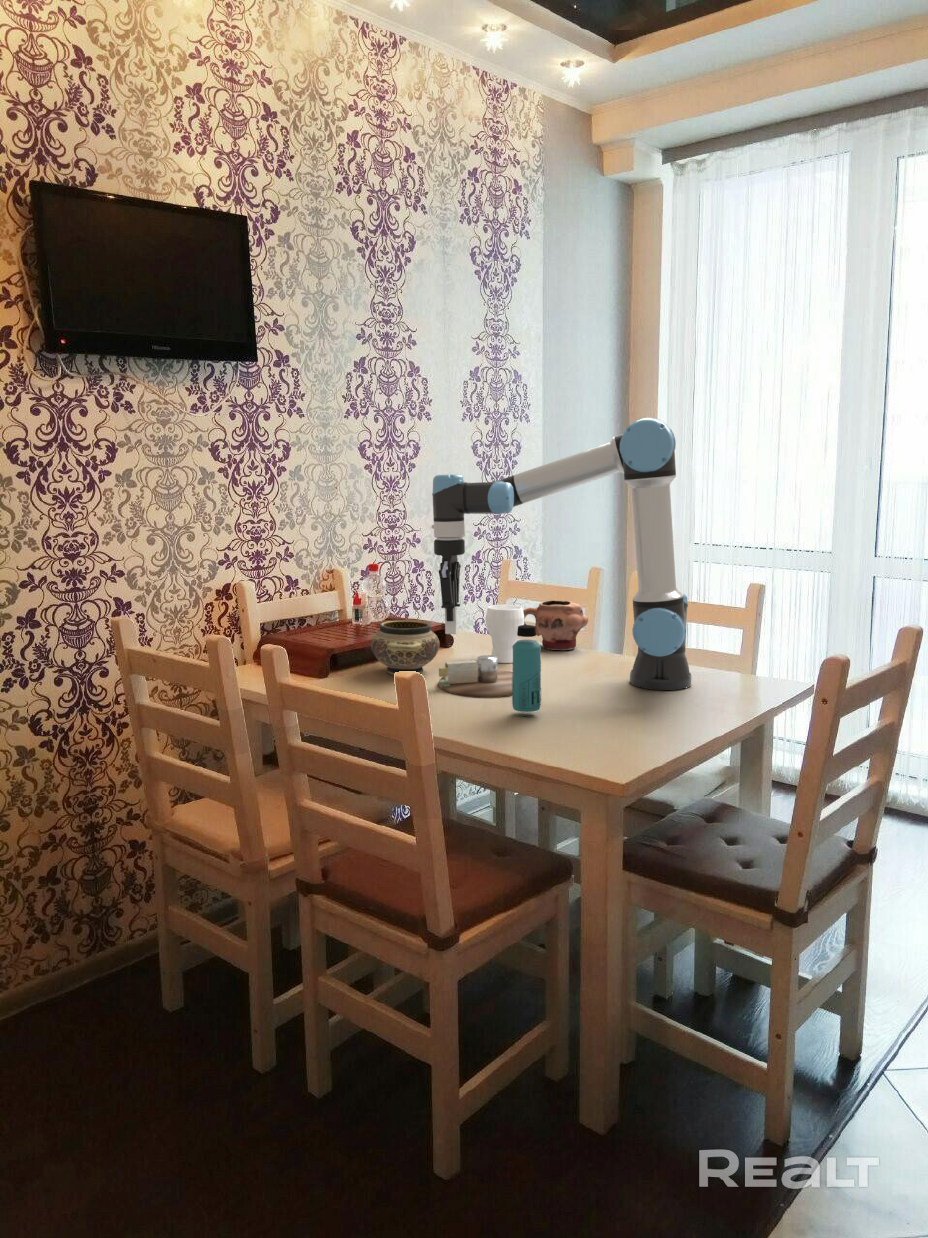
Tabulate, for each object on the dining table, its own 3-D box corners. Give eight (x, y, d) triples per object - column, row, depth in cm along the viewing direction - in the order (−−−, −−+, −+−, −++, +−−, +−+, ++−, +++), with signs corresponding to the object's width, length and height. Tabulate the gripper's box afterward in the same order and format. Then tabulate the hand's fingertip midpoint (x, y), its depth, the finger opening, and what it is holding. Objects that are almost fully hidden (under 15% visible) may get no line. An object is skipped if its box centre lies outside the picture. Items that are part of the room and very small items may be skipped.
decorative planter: (519, 652, 270) (519, 604, 268) (519, 643, 282) (520, 598, 280) (588, 653, 269) (589, 605, 267) (586, 644, 281) (587, 598, 279)
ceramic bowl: (426, 694, 234) (441, 637, 232) (358, 676, 234) (372, 619, 231) (433, 671, 258) (446, 620, 256) (371, 655, 258) (384, 603, 256)
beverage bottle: (532, 720, 201) (533, 629, 198) (505, 715, 205) (506, 626, 201) (546, 713, 207) (547, 624, 203) (519, 709, 210) (520, 621, 207)
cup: (530, 659, 261) (531, 606, 259) (511, 666, 252) (512, 611, 250) (497, 654, 267) (498, 602, 264) (478, 661, 258) (478, 608, 255)
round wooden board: (555, 688, 228) (555, 683, 228) (471, 702, 216) (471, 696, 216) (501, 669, 248) (501, 664, 248) (422, 680, 236) (422, 675, 236)
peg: (493, 677, 235) (493, 654, 234) (500, 681, 230) (500, 658, 229) (437, 681, 231) (436, 658, 230) (442, 686, 226) (442, 662, 225)
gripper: (440, 536, 234) (443, 628, 238) (427, 540, 222) (429, 638, 226) (470, 536, 233) (471, 629, 237) (457, 540, 220) (460, 638, 224)
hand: (451, 633), depth 231 cm, fingers closed
